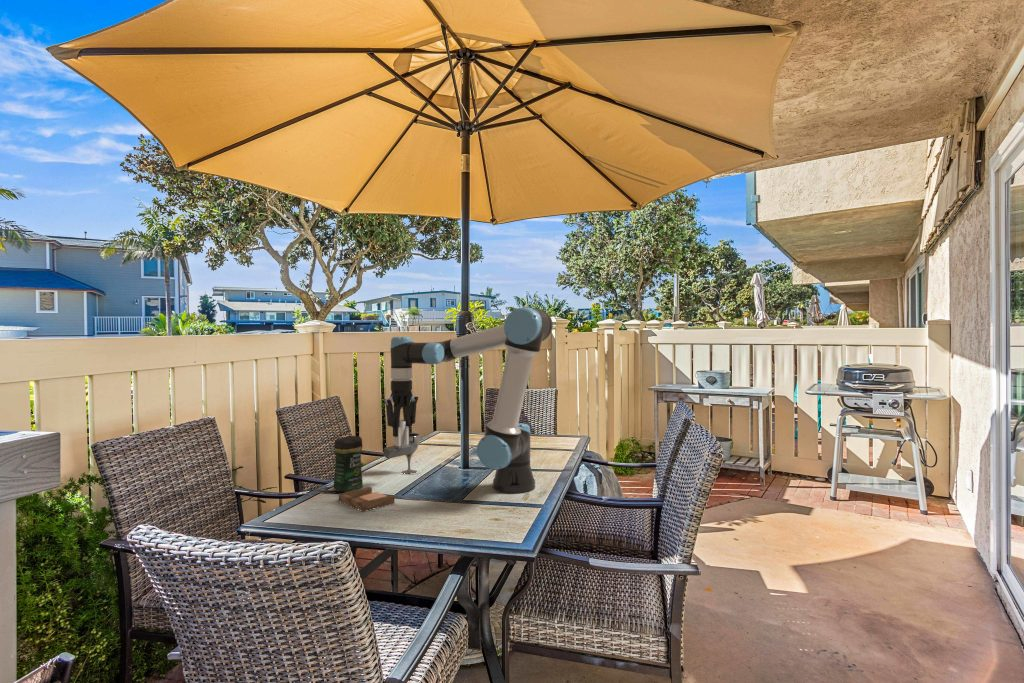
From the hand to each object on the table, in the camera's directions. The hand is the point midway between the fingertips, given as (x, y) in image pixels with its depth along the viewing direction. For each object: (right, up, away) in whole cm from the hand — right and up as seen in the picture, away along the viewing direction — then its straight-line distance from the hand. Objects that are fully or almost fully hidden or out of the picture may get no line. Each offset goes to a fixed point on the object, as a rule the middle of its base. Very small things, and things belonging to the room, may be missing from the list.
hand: (401, 444), depth 197 cm
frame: (-7, -15, -18) cm, 24 cm away
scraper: (-2, -4, +2) cm, 5 cm away
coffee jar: (-18, -15, -3) cm, 24 cm away
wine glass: (-1, -15, +19) cm, 24 cm away
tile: (-6, -16, -17) cm, 24 cm away
